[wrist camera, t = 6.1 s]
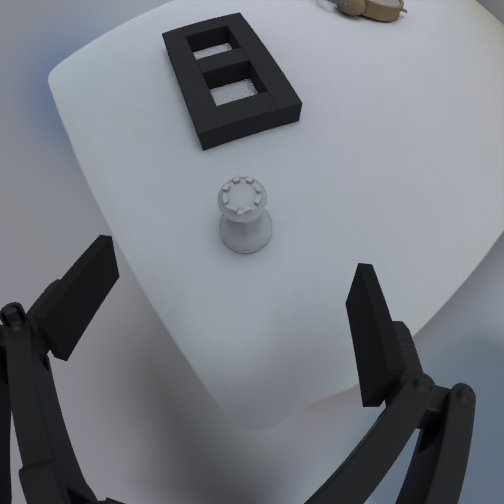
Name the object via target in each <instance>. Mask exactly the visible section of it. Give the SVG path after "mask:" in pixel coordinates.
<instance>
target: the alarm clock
mask: <svg viewBox="0 0 504 504" xmlns="http://www.w3.org/2000/svg"><path fill="white" fill-rule="evenodd" d="M328 1H331V2H333V3H336V4H337V5H338V7H339V8H340V9H341V11H343V12H344V13H346V14H348V15H352V16H356V15H360V14H362V15H364V16H367V17H370V18H373V19H376V20H381V21H394V20H396V19H397V18H398V15H399V13H400V11H403V12H406V13H407V10H405V9H404V8H403V5H404V2H403V0H328Z"/></svg>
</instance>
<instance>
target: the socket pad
mask: <svg viewBox="0 0 504 504" xmlns="http://www.w3.org/2000/svg"><path fill="white" fill-rule="evenodd" d="M162 36H163V39H164V42H165V46H166V49H167V52H168V54H169V57H170V60H171V63H172V66H173V68H174V71H175V74H176V77H177V80H178V82H179V85H180V88H181V91H182V93H183V96H184V99H185V102H186V105H187V107H188V110H189V113H190V116H191V118H192V121H193V124H194V126H195V129H196V132H197V135H198V137H199V140H200V143H201V146H202V148H203V150H206V149H209V148H212V147H215V146H217V145H220V144H223V143H226V142H229V141H232V140H235V139H238V138H242V137H245V136H248V135H251V134H254V133H258V132H261V131H264V130H268V129H271V128H275V127H278V126H281V125H285V124H289V123H292V122H296V121H299V117H300V112H301V107H302V102H301V100H300V99H299V97H298V95H297V94H296V92H295V91H294V89H293V87H292V86H291V84H290V83H289V81H288V80H287V78H286V77H285V75H284V74H283V72H282V71H281V69H280V68H279V66H278V65H277V63H276V62H275V60H274V59H273V57H272V56H271V54H270V53H269V51H268V50H267V49H266V47H265V46H264V44H263V43H262V42H261V40H260V39H259V37H258V36H257V35H256V33H255V32H254V31H253V29H252V28H251V26H250V25H249V24H248V23H247V21H246V20H245V19H244V17H243V16H242V15H241V13H235V14H230V15H226V16H222V17H217V18H213V19H209V20H205V21H202V22H198V23H194V24H191V25H187V26H184V27H181V28H177V29H174V30H171V31H168V32H165V33H162ZM227 42H229V43H230V45H231V46H232V48H233V50H230V51H226V52H222V53H218V54H215V55H211V56H208V57H204V58H201V59H198V60H196V59H195V57H194V55H193V52H195V51H198V50H202V49H205V48H208V47H212V46H216V45H219V44H223V43H227ZM247 78H250V79H251V81H252V82H253V84H254V86H255V88H256V89H257V91H258V93H259V94H257V95H253V96H249V97H246V98H242V99H239V100H235V101H232V102H229V103H226V104H222V105H219V106H216V104H215V102H214V99H213V97H212V95H211V93H210V90H209V89H213V88H216V87H219V86H222V85H226V84H229V83H233V82H236V81H240V80H244V79H247Z"/></svg>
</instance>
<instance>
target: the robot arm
mask: <svg viewBox="0 0 504 504" xmlns="http://www.w3.org/2000/svg"><path fill="white" fill-rule="evenodd" d="M118 278H119V272H118V267H117V262H116V258H115V253H114V247H113V241H112V236H105V235H100V236H99V237H98V238H97V239H96V240H95V241H94V242H93V243H92V244H91V245H90V246H89V248H88V249H87V250H86V251H85V252H84V253H83V254H82V255H81V257H80V258H79V259H78V260H77V261H76V262H75V263H74V265H73V266H72V267H71V268H70V269H69V270H68V272H67V273H66V274H65V275H64V276H63V278H62V279H61V280H59V279H57V280H56V281H54V282H53V283H51V284H50V285H49V286H48V287H47V288H46V289H45V291H44V293H42V294H41V295H40V298H38V299H37V301H36V302H35V303H34V304H33V306H32V307H31V308H30V310H29V311H28V312H27V313H26V314H25V311H24V309H23V307H22V305H21V304H20V303H17V302H13V303H9V304H7V305H6V306H4V307H3V308H2V310H1V311H0V319H1V321H2V323H3V325H0V504H11V501H12V494H11V474H10V427H11V426H10V425H11V411H12V414H13V420H14V426H15V432H16V436H17V441H18V446H19V451H20V455H21V459H22V464H23V467H22V468H21V469H20V470H19V478H20V482H21V485H22V489H23V492H24V496H25V499H26V502H27V504H124V503H122V502H118V501H116V500H113V499H110V498H106V500H105V501H97V499H96V497H95V495H94V493H93V491H92V490H91V488H90V487H89V486H88V485H87V483H86V481H85V479H84V477H83V475H82V472H81V470H80V467H79V464H78V462H77V459H76V457H75V454H74V451H73V448H72V445H71V442H70V439H69V436H68V433H67V430H66V426H65V423H64V420H63V416H62V412H61V409H60V405H59V401H58V398H57V393H56V389H55V385H54V380H53V376H52V371H51V366H50V361H49V358H48V355H47V353H48V351H49V350H51V352H52V353H53V355H54V357H56V358H58V359H61V360H64V361H67V360H68V358H69V356H70V355H71V353H72V351H73V350H74V348H75V346H76V344H77V343H78V341H79V339H80V338H81V336H82V334H83V333H84V331H85V329H86V328H87V326H88V324H89V323H90V321H91V320H92V318H93V316H94V315H95V313H96V311H97V310H98V308H99V307H100V305H101V304H102V302H103V301H104V299H105V298H106V296H107V295H108V293H109V291H110V290H111V288H112V287H113V285H114V284H115V282H116V281H117V279H118ZM346 308H347V313H348V319H349V324H350V329H351V335H352V340H353V346H354V351H355V357H356V363H357V370H358V376H359V383H360V389H361V397H362V404H363V407H378V406H380V405H381V404H382V402H383V401H384V400H385V404H386V408H385V410H384V411H383V412H382V413H381V414H380V416H379V417H378V418H377V420H376V422H375V423H374V425H373V426H372V427H371V429H370V430H369V431H368V432H367V434H366V435H365V436H364V437H363V439H362V440H361V441H360V443H359V444H358V445H357V446H356V447H355V449H354V450H353V451H352V452H351V454H350V455H349V456H348V457H347V458H346V460H345V461H344V462H343V463H342V464H341V465H340V466H339V467H338V469H337V470H336V471H335V472H334V473H333V474H332V475H331V476H330V478H329V479H328V480H327V481H326V482H325V483H324V484H323V485H322V486H321V487H320V488H319V489H318V490H317V491H316V492H315V493H314V494H313V495H312V496H311V497H310V498H309V499H308V500H307V501H306V502H305V503H304V504H363V503H364V502H365V501H366V500H367V498H368V497H369V496H370V495H371V493H372V492H373V491H374V490H375V488H376V487H377V486H378V484H379V483H380V482H381V480H382V479H383V477H384V476H385V474H386V473H387V472H388V470H389V469H390V468H391V466H392V465H393V463H394V462H395V460H396V459H397V457H398V456H399V454H400V452H401V451H402V449H403V448H404V446H405V445H406V443H407V441H408V440H409V438H410V437H411V435H412V433H413V432H414V430H415V428H418V429H420V432H419V436H418V440H417V443H416V446H415V450H414V453H413V456H412V459H411V463H410V465H409V468H408V471H407V474H406V477H405V480H404V483H403V485H402V488H401V491H400V493H399V496H398V498H397V501H396V503H395V504H457V503H458V500H459V497H460V493H461V489H462V485H463V480H464V476H465V471H466V467H467V461H468V456H469V450H470V444H471V438H472V431H473V423H474V414H475V404H476V397H475V393H474V392H473V390H472V388H471V387H470V386H468V385H466V384H464V383H458V384H456V385H455V386H453V388H452V389H448V388H444V387H440V386H437V385H435V383H434V381H433V380H432V378H431V377H429V376H428V375H426V374H424V373H423V370H422V367H421V364H420V360H419V357H418V354H417V351H416V348H415V347H414V346H415V345H414V342H413V340H412V336H411V334H410V331H409V329H408V328H407V326H406V325H405V324H404V323H403V322H402V321H392V319H391V316H390V313H389V310H388V307H387V304H386V301H385V298H384V296H383V293H382V290H381V287H380V284H379V282H378V279H377V276H376V273H375V271H374V268H373V265H372V264H363V263H358V266H357V269H356V273H355V276H354V279H353V282H352V285H351V288H350V292H349V295H348V298H347V301H346Z"/></svg>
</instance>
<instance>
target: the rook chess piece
mask: <svg viewBox="0 0 504 504" xmlns="http://www.w3.org/2000/svg"><path fill="white" fill-rule="evenodd" d="M218 205H219V208H220V211H221V212H222V213H223V215H222V217H221V219H220V233H221V236H222V239H223V241H224V242H225V243H226V244H227V246H228V247H229V248H231V249H233V250H235V251H237V252H239V253H251V252H254V251H257V250H259V249H261V248H262V247H263V246H264V245H265V244H266V243H267V242H268V240H269V238H270V236H271V230H272V223H271V219H270V216H269V214H268V212H267V211H266V210H265V207H266V205H267V194H266V191H265V189H264V187H263V186H262V185H261V184H260V183H259V182H258V181H256V180H254V179H253V178H251V177H248V176H247V177H239V176H236V177H233V178H232V179H231V180H229V181H228V182H227V183H226V184H224V185H223V187H222V188H221V190H220V192H219V194H218Z"/></svg>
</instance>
